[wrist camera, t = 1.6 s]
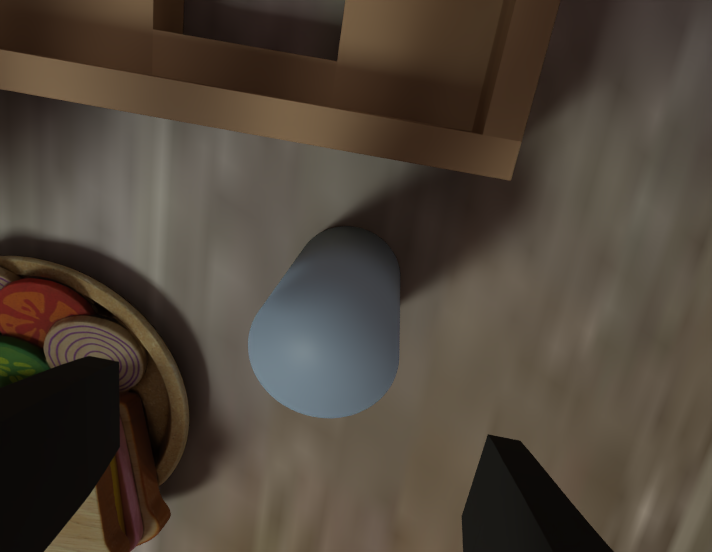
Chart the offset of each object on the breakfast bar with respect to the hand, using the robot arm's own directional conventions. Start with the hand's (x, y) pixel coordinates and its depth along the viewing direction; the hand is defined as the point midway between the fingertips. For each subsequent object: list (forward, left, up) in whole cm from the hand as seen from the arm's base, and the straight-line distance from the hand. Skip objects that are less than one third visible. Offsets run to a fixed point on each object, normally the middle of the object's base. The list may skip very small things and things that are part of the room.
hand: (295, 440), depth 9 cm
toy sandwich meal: (-11, -8, -10) cm, 17 cm away
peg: (0, 0, -9) cm, 9 cm away
